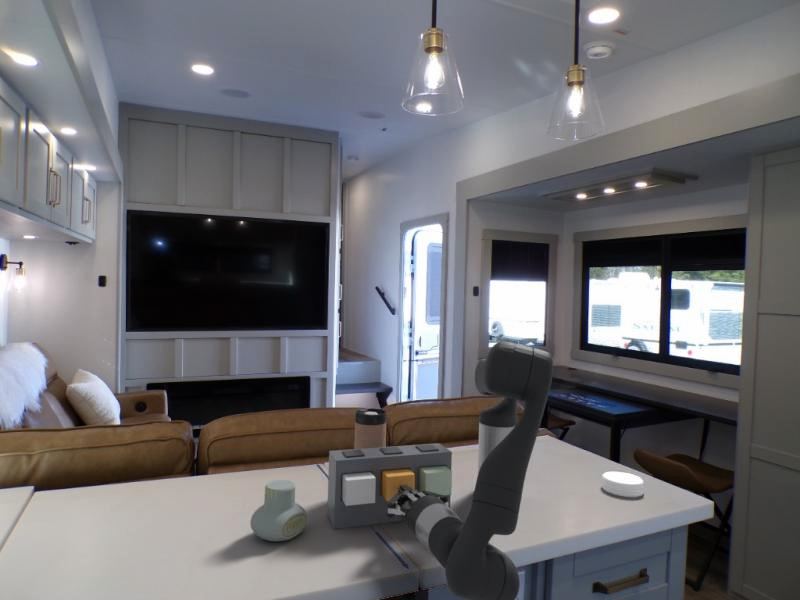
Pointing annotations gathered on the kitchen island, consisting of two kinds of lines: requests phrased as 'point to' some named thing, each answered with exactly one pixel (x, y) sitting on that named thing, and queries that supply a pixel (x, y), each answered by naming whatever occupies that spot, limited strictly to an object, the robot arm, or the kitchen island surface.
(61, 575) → the kitchen island surface
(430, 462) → the grey switch box
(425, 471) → the block
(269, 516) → the air freshener
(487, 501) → the robot arm
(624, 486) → the white round disc
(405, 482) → the block
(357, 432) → the travel mug
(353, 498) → the block
